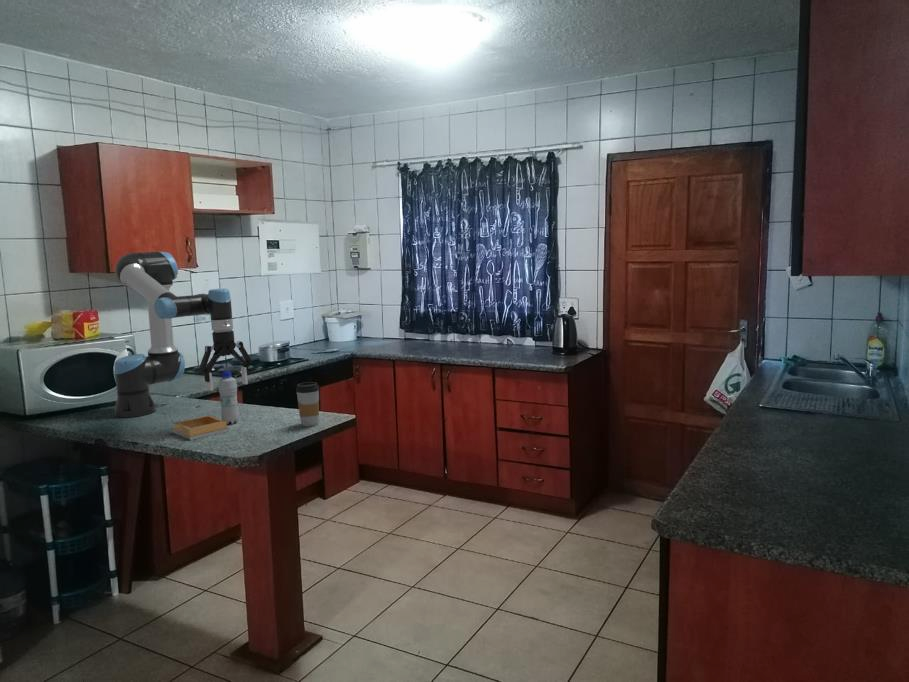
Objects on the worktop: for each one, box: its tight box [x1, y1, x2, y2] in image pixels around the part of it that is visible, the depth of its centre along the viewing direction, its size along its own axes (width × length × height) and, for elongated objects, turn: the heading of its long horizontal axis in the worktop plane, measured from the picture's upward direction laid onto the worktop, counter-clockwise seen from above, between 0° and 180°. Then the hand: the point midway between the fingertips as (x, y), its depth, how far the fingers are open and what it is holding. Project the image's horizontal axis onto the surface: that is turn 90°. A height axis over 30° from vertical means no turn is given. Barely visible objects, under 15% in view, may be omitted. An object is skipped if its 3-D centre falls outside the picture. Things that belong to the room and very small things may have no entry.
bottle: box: [218, 370, 240, 425], centre depth 247 cm, size 7×7×20 cm
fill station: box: [172, 415, 230, 441], centre depth 237 cm, size 15×14×4 cm
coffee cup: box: [295, 381, 320, 427], centre depth 241 cm, size 8×8×15 cm
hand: (228, 387), depth 246 cm, fingers open, 13 cm apart
